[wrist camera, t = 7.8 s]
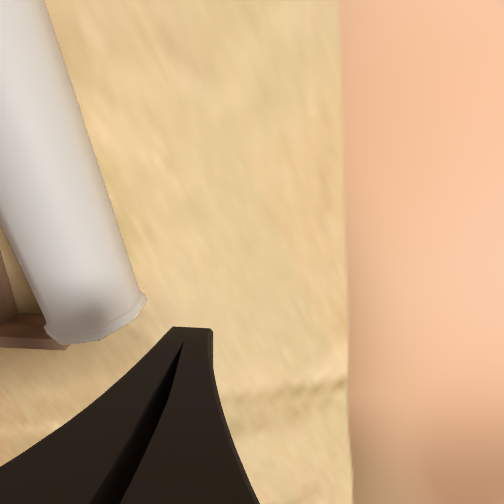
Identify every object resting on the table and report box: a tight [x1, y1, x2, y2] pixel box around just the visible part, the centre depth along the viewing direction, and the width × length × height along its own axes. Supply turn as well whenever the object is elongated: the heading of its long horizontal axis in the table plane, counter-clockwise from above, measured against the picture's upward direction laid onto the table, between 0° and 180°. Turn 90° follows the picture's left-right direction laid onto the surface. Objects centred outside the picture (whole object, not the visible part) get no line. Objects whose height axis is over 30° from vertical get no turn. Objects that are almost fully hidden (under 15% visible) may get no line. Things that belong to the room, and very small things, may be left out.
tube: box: [0, 0, 147, 345], centre depth 14 cm, size 5×5×25 cm
